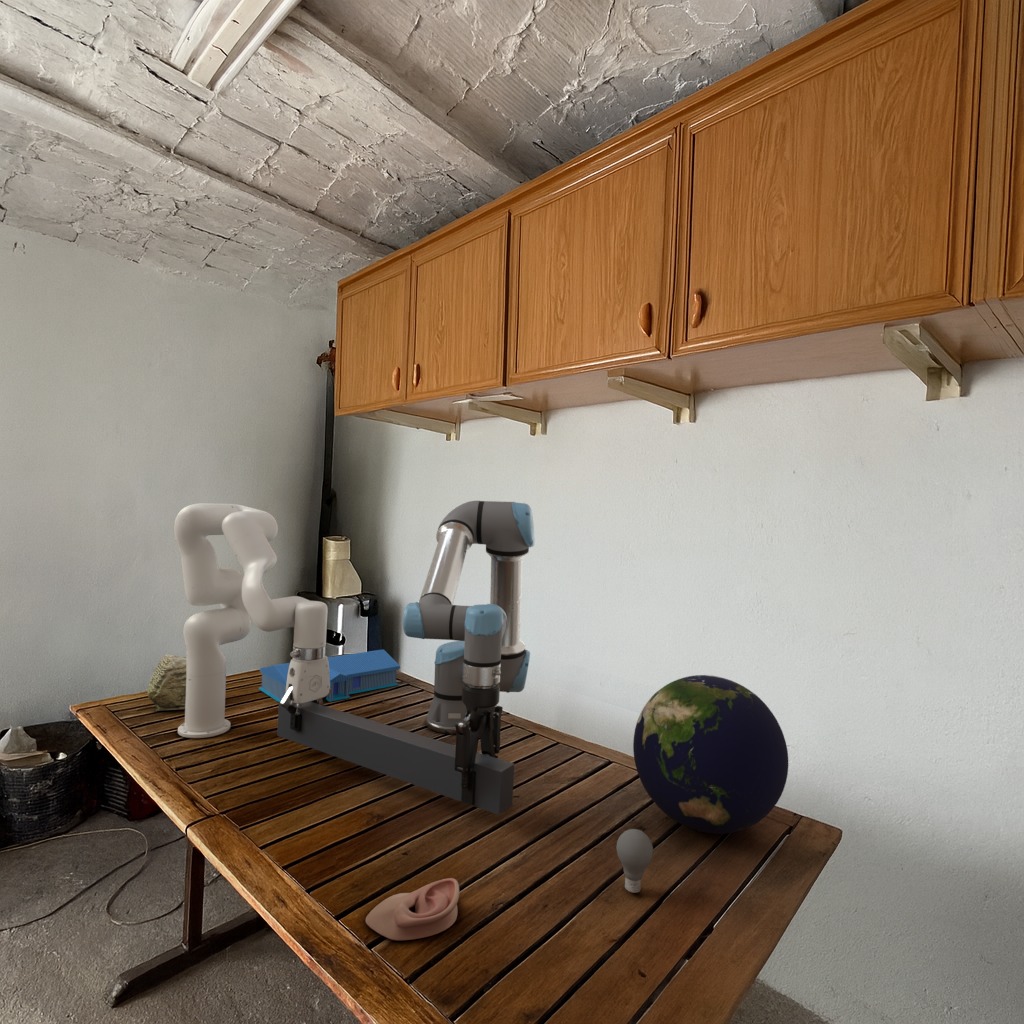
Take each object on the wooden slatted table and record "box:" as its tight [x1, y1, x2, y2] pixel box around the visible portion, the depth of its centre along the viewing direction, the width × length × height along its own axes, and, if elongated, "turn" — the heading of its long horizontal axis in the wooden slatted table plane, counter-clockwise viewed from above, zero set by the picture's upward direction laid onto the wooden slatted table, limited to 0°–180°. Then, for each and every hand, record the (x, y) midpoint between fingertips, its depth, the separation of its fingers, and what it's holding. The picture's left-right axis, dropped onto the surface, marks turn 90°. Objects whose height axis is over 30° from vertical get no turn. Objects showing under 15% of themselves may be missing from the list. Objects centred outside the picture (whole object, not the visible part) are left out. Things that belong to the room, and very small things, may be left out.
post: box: [276, 700, 515, 816], centre depth 141 cm, size 65×5×8 cm, turn 59°
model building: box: [258, 649, 401, 703], centre depth 208 cm, size 39×24×10 cm, turn 132°
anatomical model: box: [365, 877, 460, 942], centre depth 97 cm, size 13×4×12 cm
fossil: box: [147, 654, 187, 712], centre depth 185 cm, size 9×18×15 cm, turn 132°
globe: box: [632, 674, 789, 835], centre depth 129 cm, size 30×30×30 cm
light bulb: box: [615, 828, 654, 894], centre depth 106 cm, size 6×6×10 cm
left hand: (305, 725), depth 154 cm, fingers closed on post, 5 cm apart
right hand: (476, 796), depth 128 cm, fingers closed on post, 5 cm apart
